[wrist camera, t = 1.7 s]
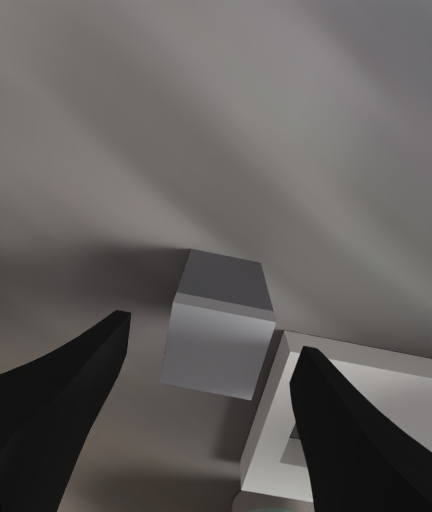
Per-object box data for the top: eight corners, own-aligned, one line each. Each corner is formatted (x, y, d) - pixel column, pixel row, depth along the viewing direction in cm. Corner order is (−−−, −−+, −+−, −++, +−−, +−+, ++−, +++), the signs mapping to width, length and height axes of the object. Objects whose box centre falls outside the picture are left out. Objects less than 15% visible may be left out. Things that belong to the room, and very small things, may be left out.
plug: (260, 262, 17) (276, 322, 12) (244, 322, 19) (251, 400, 13) (191, 248, 17) (173, 302, 11) (179, 309, 18) (159, 383, 13)
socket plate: (469, 366, 19) (498, 393, 17) (392, 488, 23) (408, 521, 21) (284, 330, 19) (291, 353, 17) (240, 461, 23) (241, 493, 21)
